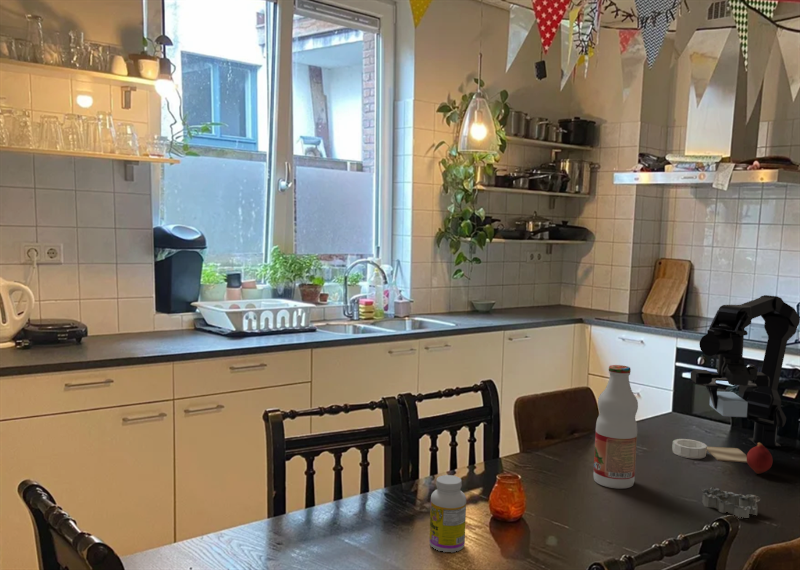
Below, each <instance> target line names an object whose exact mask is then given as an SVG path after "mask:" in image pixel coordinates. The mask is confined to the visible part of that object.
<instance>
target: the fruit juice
mask: <svg viewBox="0 0 800 570" xmlns="http://www.w3.org/2000/svg"><path fill="white" fill-rule="evenodd" d="M608 374H609V379H608V382H607V385H606V387H605V389H603V391H602V392H601V393H600V395H599V396H598V400H597V408H598V417H597V419H596V423H595V439H594V458H593V460H594V461H593V480H594V481H595V483H597V484H598V485H600V486H603V487H605V488H610V489H617V490H619V489H622V490H623V489H629V488H631V487H633V486H634V484H635V479H636V478H635V475H636V461H637V460H636V458H637V457H636V456H637V443H638V442H637V440H638V424H637V421H636V415H637V413H638V410H639V401H638V399H637V397H636V395H635V394H634V392H633V390H632V388H631V383H630V378H629V377H630V375H631V367H630V366H628V365H622V364H610V365H609V366H608Z"/></svg>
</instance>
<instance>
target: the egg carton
mask: <svg viewBox="0 0 800 570" xmlns="http://www.w3.org/2000/svg"><path fill="white" fill-rule="evenodd" d="M700 491H701V492H702V498H701V500H702V501H701V502H702V504H703V507H706V508H714V509H716V510H717V511H718V512H719V513H722V514H725V513H726V512H728V513H727V514H731V515H732V516H734V515H736V516H738V518H739V517H740V518H739V519H743V517H744V518H749V519H750V515H749V514H753V515H756V516H758V509H759V508H758V504H757V503H759V502H760V501H761V500H762V498H761V497H760V496H757V494H748V493H747V494H746V495H744V494H743V493H739V494H738V493H734V492H733V491H726V490H725V491H724V490H721V489H720V488H717V487H716V486H715V487H714V488H713V487H712V486H711V487H710V488H709V487H708V488H704V489H700ZM753 515H752V516H753ZM741 517H742V518H741ZM738 518H737V519H738Z"/></svg>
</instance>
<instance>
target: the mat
mask: <svg viewBox="0 0 800 570" xmlns="http://www.w3.org/2000/svg"><path fill="white" fill-rule="evenodd" d="M707 453H709V454H710V455H711V456H713V458H714V459H715V460H717V461H718V462H734V463H735V462H736V463H737V462H738V463H747V454H746V453H745V452H743V451H742V450H741V449H740V448H737V447H722V446H708V445H707Z"/></svg>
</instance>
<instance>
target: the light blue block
mask: <svg viewBox="0 0 800 570" xmlns="http://www.w3.org/2000/svg"><path fill="white" fill-rule="evenodd" d="M747 405H748V402H747V400H746V401H745V400H744V399H742V398H741V397H739V394H736V393H735V392H733V391H720V390H719V391H718V390H717V409H715V408H714V406H713V403H712V400H711V397H710V396H709V406H710V407H711V408H712V409H713V410H715V411H716V412H717V413H719V415H721V416H723V417H736V418H747Z"/></svg>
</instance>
